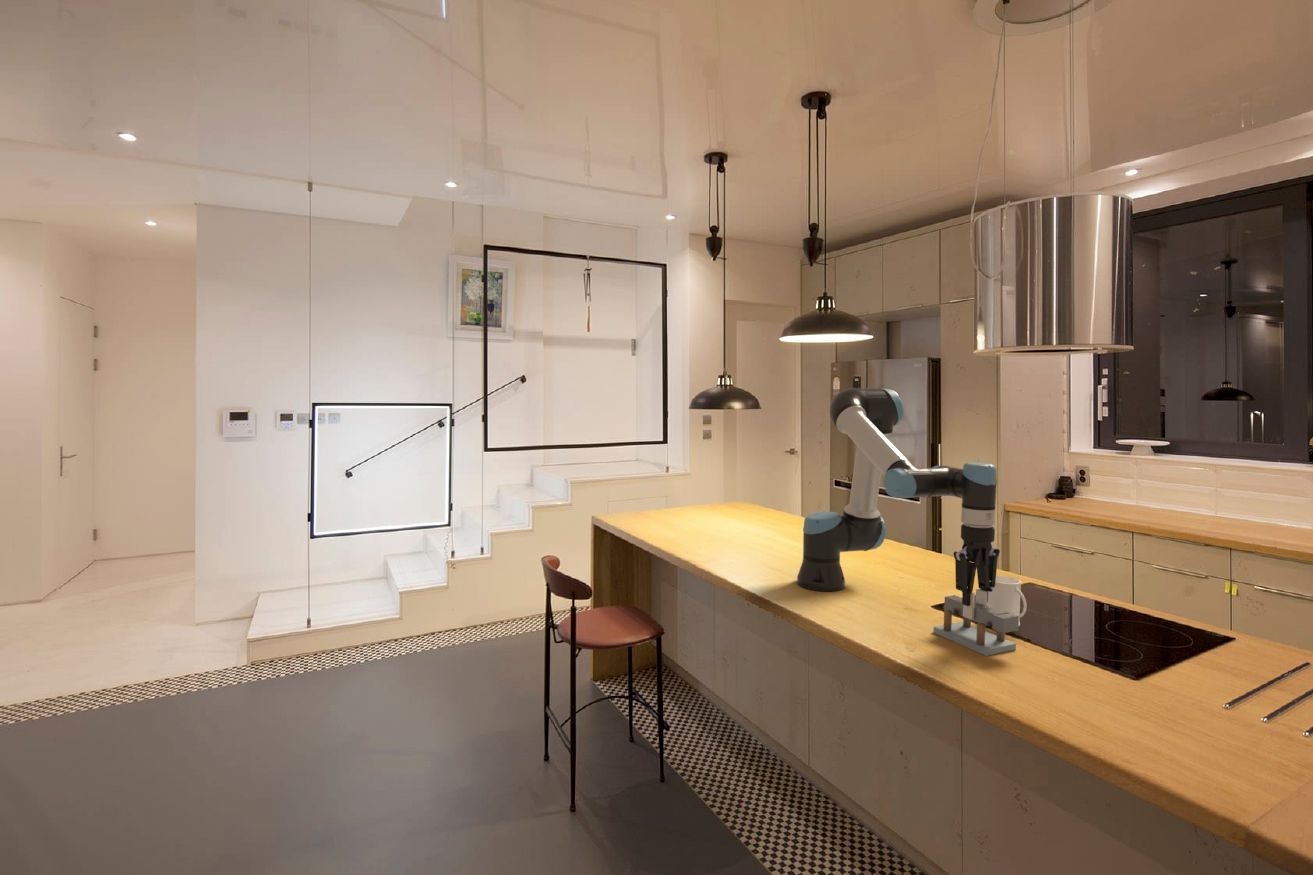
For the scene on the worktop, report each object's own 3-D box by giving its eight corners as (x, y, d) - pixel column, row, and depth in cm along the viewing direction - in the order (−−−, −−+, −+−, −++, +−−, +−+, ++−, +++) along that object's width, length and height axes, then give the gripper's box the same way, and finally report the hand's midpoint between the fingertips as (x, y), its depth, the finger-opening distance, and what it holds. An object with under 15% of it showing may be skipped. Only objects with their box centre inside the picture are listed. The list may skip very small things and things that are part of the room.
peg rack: (933, 632, 164) (934, 608, 164) (961, 627, 168) (962, 603, 168) (986, 655, 150) (987, 629, 149) (1015, 649, 153) (1016, 623, 153)
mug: (1036, 631, 165) (1038, 587, 164) (1007, 633, 164) (1009, 588, 163) (1005, 616, 177) (1006, 574, 176) (977, 617, 175) (979, 575, 175)
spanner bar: (942, 610, 165) (942, 597, 164) (956, 607, 166) (956, 594, 166) (1003, 633, 148) (1003, 618, 148) (1018, 630, 150) (1018, 615, 150)
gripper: (965, 530, 150) (962, 626, 152) (1014, 525, 156) (1011, 617, 158) (940, 524, 157) (937, 616, 159) (988, 519, 163) (985, 607, 165)
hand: (974, 616), depth 158 cm, fingers closed on spanner bar, 3 cm apart
